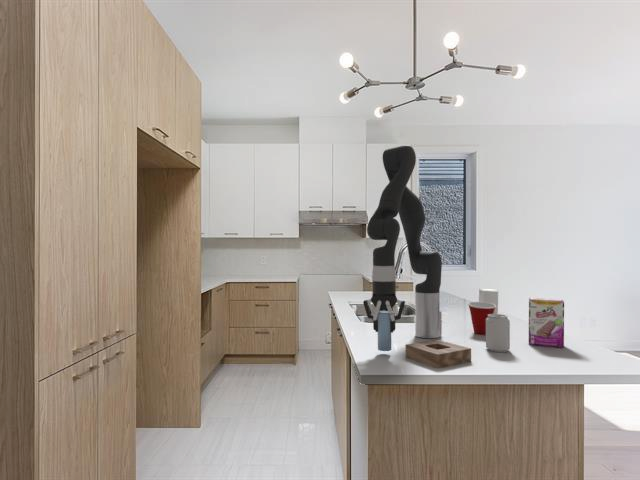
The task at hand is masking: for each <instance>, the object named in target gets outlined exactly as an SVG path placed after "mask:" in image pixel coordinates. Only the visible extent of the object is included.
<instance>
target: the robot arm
mask: <svg viewBox="0 0 640 480" xmlns="http://www.w3.org/2000/svg"><path fill="white" fill-rule="evenodd" d="M382 163H383V168H384V171H385V173H386V175H387V179H388V182H389V183H388V184H387V185H386V186H385V187H384V189H383V190H382V193H381V196H380V199H379V203H378V206H377V208H376V210H375V211H374V213H373V215H371V217H370V218H369V222H368V223H367V226H366V232H367V235H368V237H369V238H370V239H371V240H373V241H386V243H385V244H384V245H383V246H378V247H376V248H374V249H373V251H372V270H371V271H372V272H371V273H372V275H371V281H372V282H371V283H372V285H371V286H372V287H371V288H372V289H371V290H372V291H371V292H372V294H371V295H372V296H371V297H370V298H369V299H364V300H363V302H362V303H363V306H364V310H365V312H366V316H367V318H368V319H371V320H372V323H373V328H372V329H373V330H374V332H375V333H378V313H379V312H389V315H390V318H391V334H392V333H394V332H395V330H396V321H398V320H401V317H402V315H403V311H404V308H405V305H406V301H405V300H400V299H398V298H397V294H396V293H397V292H396V291H397V287H396V286H397V285H396V279H397V278H396V275H397V274H396V273H397V272H396V267H395V266H396V265H395V261H396V260H395V258H396V257H395V256H396V254H395V253H396V249H397V248H396V247H397V244H398V238H399V236H400V232H401V226H400V223H401V225H402V229H403V232H404V233H403V234H404V237H405V241H406V246H407V252H408V257H409V264H410V267H411V270H412V271H413V272H414V273H415V274H417V275H426V278H425V279H424V281H422V282H419V283H417V284H415V287H414V291H415V293H414V294H415V296H414V297H415V298H414V299H415V301H414V302H415V303H414V304H415V305H414V306H415V309H414V310H415V312H414V314H415V318H414V319H415V320H414V321H415V322H414V323H415V325H414V326H415V332H414V333H415V337H416V338H422V339H438V338H440V337H442V333H443V332H442V330H443V329H442V327H443V326H442V324H443V322H442V316H443V315H442V314H443V313H442V311H441V309H440V305H441V304H440V303H441V302H440V301H441V299H440V296H441V295H440V294H441V293H440V290H441V286H442V285H441V284H442V268H443V267H442V266H443V265H442V264H443V263H442V257H441V254H440V253H439V252H438V251H436V250H435V251H433V250H423V249H422V246H421V235H422V233H423V230H424V227H425V225H426V224H425V223H426V214H425V210H424V207H423V206H424V205H423V203H422V201H421V200H420V198H419V197H418V196H417V194H416V193H414V192H413V191H412V190H411V189H410V188H409V187H408V186H407V185H408V182H409V181H410V178H411V176H412V174H413V172H414V169H415V166H416V163H417V155H416V152H415V149H414V148H413V147H412V145H410V144H405V145H399V146H394V147H391V148H388V149H385V150H384V151H383V153H382ZM397 216H399V218H400V223H399V221H398V220H397V219H396V218H397ZM371 303H372V305H373V306H374V307H375V309H374V313H372V310H371V307H370V306H371ZM395 305H397V307H398V312H397V314H396V315H395V311H394V309H393V308H394V306H395Z"/></svg>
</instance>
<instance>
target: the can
mask: <svg viewBox="0 0 640 480" xmlns="http://www.w3.org/2000/svg"><path fill="white" fill-rule="evenodd" d="M510 325H511V324H510V319H509V318H508V315H506V314H499V313H498V314H489V315H488V317H487V318H486V335H485V347H486V349H488V351H490V352H492V353H507V352H508V351H509V350H511V349H510V347H511V342H510V340H511V338H510V337H511V335H510V333H511V331H510V329H511V327H510Z"/></svg>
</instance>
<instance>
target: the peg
mask: <svg viewBox="0 0 640 480" xmlns="http://www.w3.org/2000/svg"><path fill="white" fill-rule="evenodd" d="M377 351H380V352H390V351H392V333H391V318H390V315H389V312H388V311H380V312H379V313H378V332H377Z"/></svg>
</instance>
